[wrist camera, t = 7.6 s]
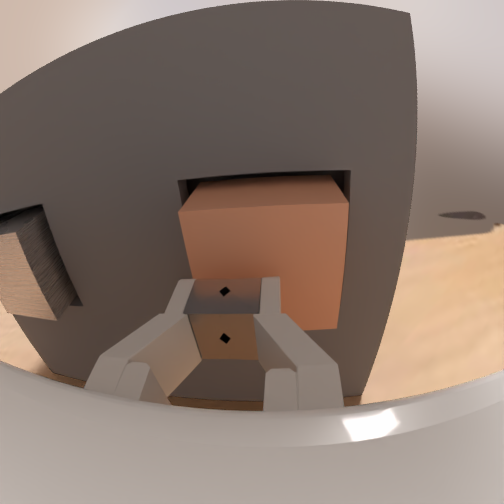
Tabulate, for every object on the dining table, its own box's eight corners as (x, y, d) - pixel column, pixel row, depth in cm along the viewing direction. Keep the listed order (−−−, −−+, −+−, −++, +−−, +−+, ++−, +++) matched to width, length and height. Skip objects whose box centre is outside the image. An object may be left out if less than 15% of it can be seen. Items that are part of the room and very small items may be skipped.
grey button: (57, 321, 12) (15, 232, 9) (7, 312, 12) (-29, 240, 10) (83, 285, 14) (53, 204, 12) (32, 284, 15) (3, 215, 12)
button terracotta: (336, 328, 10) (349, 203, 8) (206, 332, 11) (177, 212, 8) (326, 281, 13) (330, 174, 10) (218, 285, 14) (200, 182, 11)
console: (361, 394, 16) (409, 13, 6) (52, 372, 18) (-52, 137, 8) (347, 330, 21) (361, 38, 11) (80, 326, 24) (7, 116, 13)
